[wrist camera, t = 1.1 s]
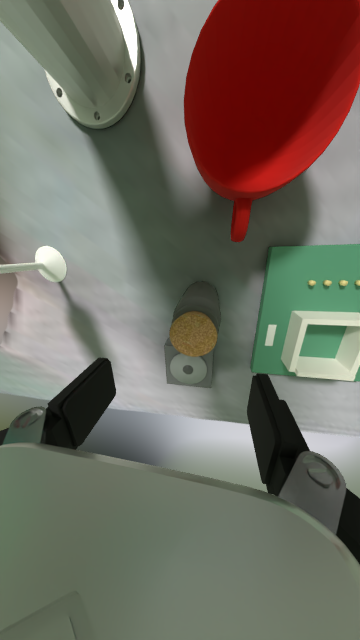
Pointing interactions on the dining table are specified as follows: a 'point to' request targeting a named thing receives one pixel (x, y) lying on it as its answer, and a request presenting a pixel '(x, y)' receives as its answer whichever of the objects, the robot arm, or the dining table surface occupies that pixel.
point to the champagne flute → (42, 265)
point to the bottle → (196, 320)
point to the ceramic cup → (268, 93)
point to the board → (310, 313)
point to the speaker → (188, 368)
